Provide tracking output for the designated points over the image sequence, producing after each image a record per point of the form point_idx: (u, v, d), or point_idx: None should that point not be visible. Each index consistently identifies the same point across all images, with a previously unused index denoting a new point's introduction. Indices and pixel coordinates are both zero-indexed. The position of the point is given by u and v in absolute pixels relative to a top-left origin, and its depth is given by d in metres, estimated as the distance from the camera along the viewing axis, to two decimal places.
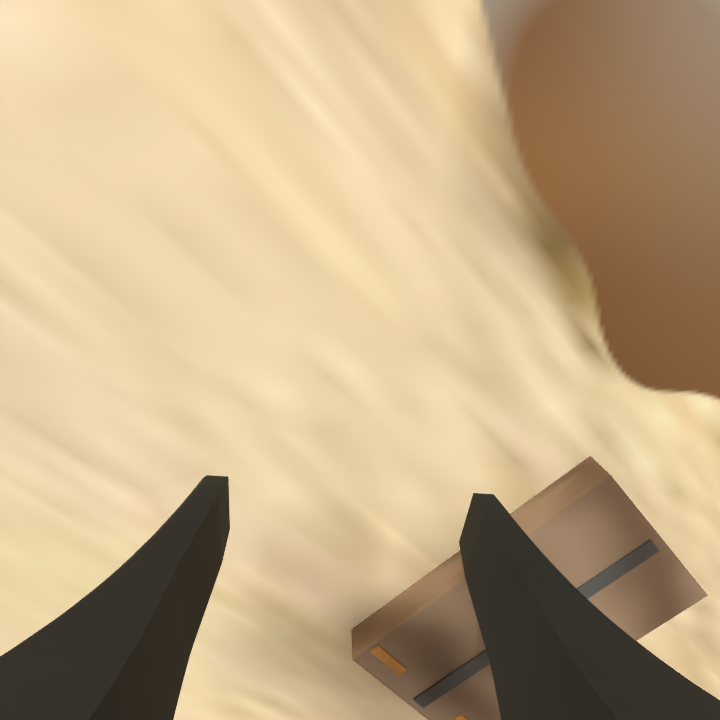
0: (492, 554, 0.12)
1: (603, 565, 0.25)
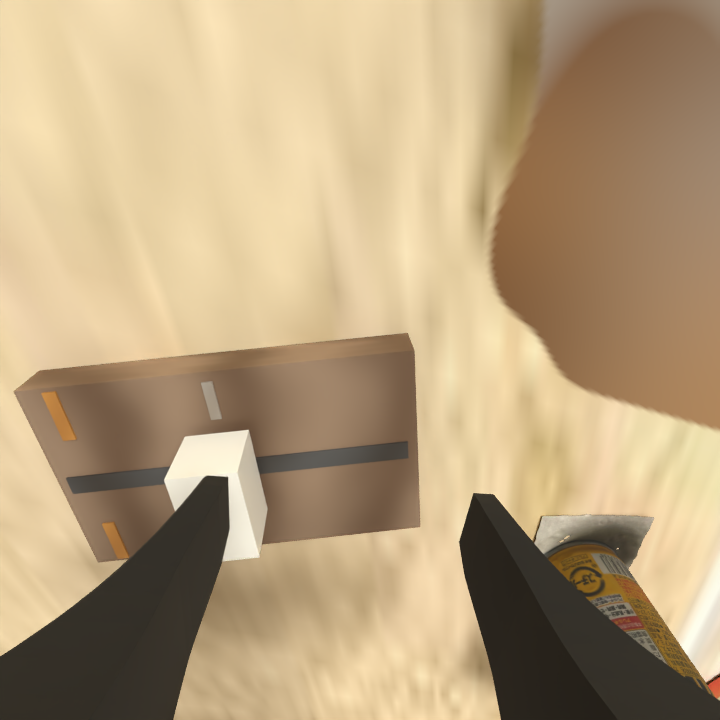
0: (492, 554, 0.12)
1: (349, 442, 0.22)
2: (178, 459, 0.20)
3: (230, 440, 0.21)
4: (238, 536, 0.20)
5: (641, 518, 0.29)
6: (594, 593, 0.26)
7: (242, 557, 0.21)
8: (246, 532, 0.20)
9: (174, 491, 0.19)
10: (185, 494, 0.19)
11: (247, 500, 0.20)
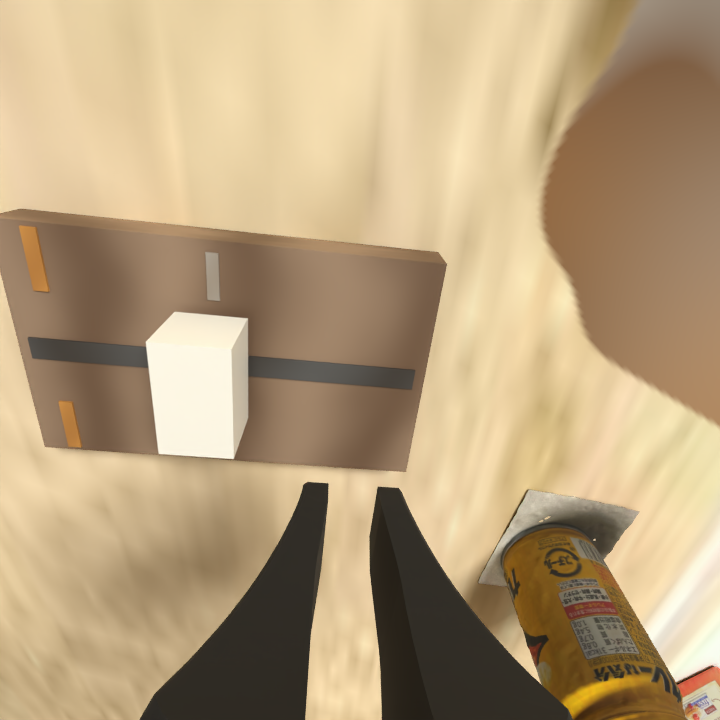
0: (383, 548, 0.11)
1: (353, 358, 0.20)
2: (164, 328, 0.17)
3: (225, 323, 0.18)
4: (215, 429, 0.18)
5: (626, 510, 0.28)
6: (570, 574, 0.25)
7: (215, 455, 0.18)
8: (225, 425, 0.18)
9: (154, 358, 0.16)
10: (166, 364, 0.16)
11: (234, 388, 0.17)
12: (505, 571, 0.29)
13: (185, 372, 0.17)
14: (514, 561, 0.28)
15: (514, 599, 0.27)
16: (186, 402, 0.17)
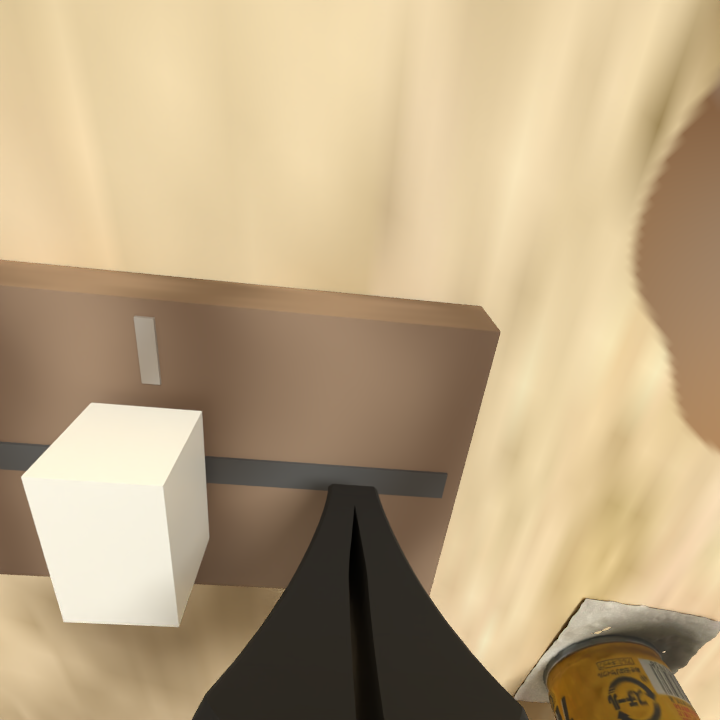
0: (355, 546, 0.11)
1: (358, 459, 0.14)
2: (64, 441, 0.11)
3: (165, 423, 0.12)
4: (148, 590, 0.12)
5: (709, 621, 0.21)
6: None
7: (150, 622, 0.12)
8: (163, 586, 0.11)
9: (38, 500, 0.10)
10: (60, 508, 0.10)
11: (173, 534, 0.11)
12: (551, 694, 0.22)
13: (90, 517, 0.10)
14: (565, 687, 0.21)
15: None
16: (97, 557, 0.11)
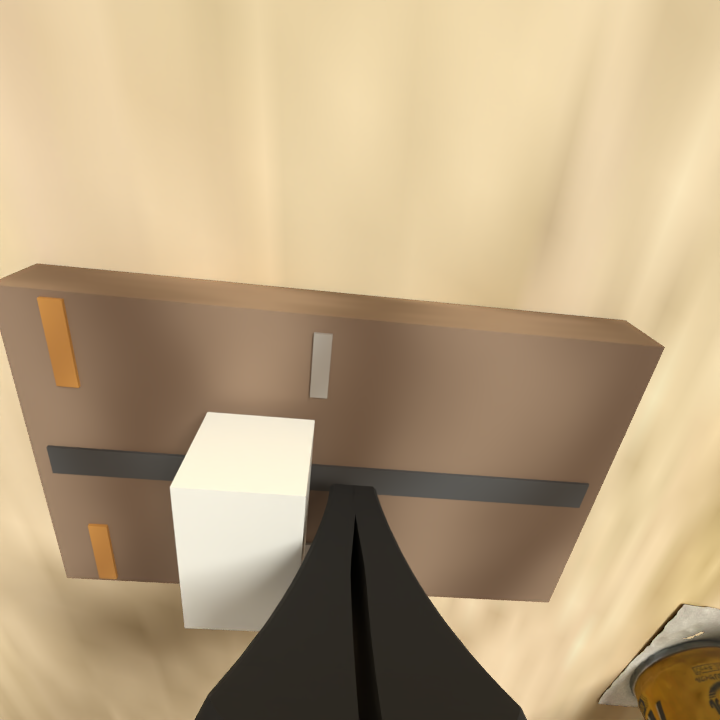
0: (354, 546, 0.11)
1: (504, 470, 0.14)
2: (196, 451, 0.11)
3: (285, 433, 0.12)
4: (272, 597, 0.12)
5: None
6: None
7: None
8: None
9: (182, 509, 0.10)
10: (202, 517, 0.10)
11: None
12: (642, 698, 0.23)
13: (230, 526, 0.11)
14: (660, 691, 0.22)
15: None
16: (229, 565, 0.11)
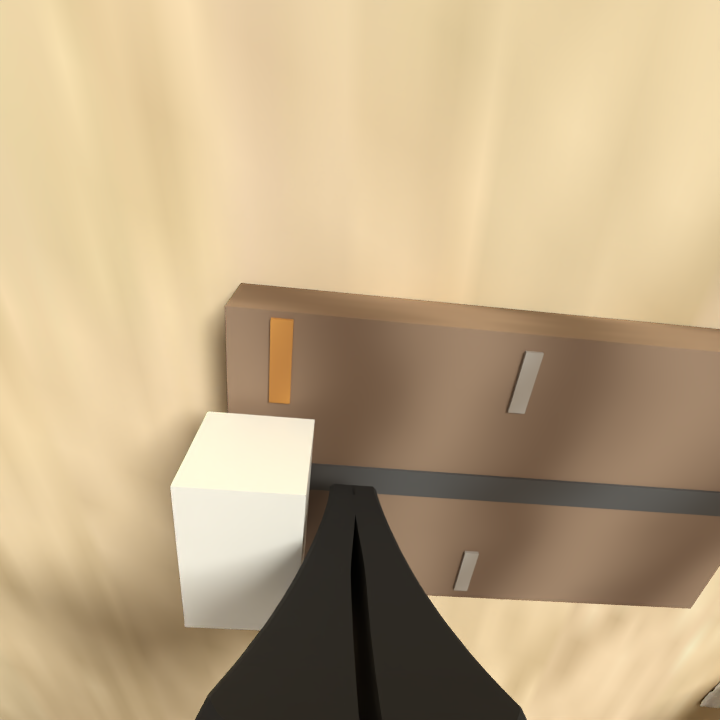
0: (354, 546, 0.11)
1: (676, 481, 0.15)
2: (197, 450, 0.11)
3: (285, 432, 0.12)
4: (272, 596, 0.12)
5: None
6: None
7: None
8: None
9: (182, 509, 0.10)
10: (202, 516, 0.10)
11: None
12: None
13: (230, 525, 0.11)
14: None
15: None
16: (229, 564, 0.11)
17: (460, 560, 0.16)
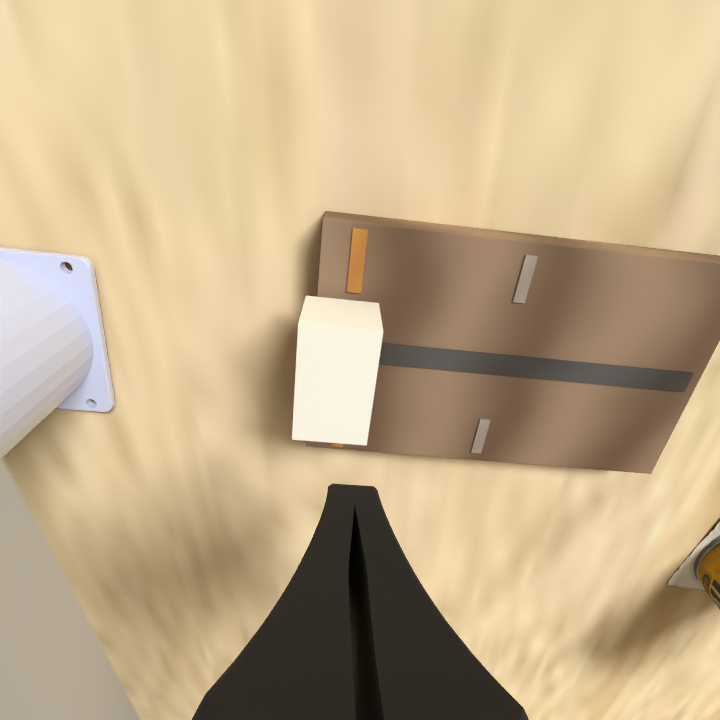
0: (355, 546, 0.11)
1: (635, 361, 0.21)
2: (307, 311, 0.17)
3: (361, 307, 0.18)
4: (353, 414, 0.17)
5: None
6: None
7: (348, 441, 0.18)
8: (364, 411, 0.17)
9: (303, 341, 0.16)
10: (315, 347, 0.16)
11: (376, 372, 0.17)
12: (706, 573, 0.29)
13: (332, 355, 0.16)
14: None
15: None
16: (328, 386, 0.17)
17: (476, 426, 0.22)
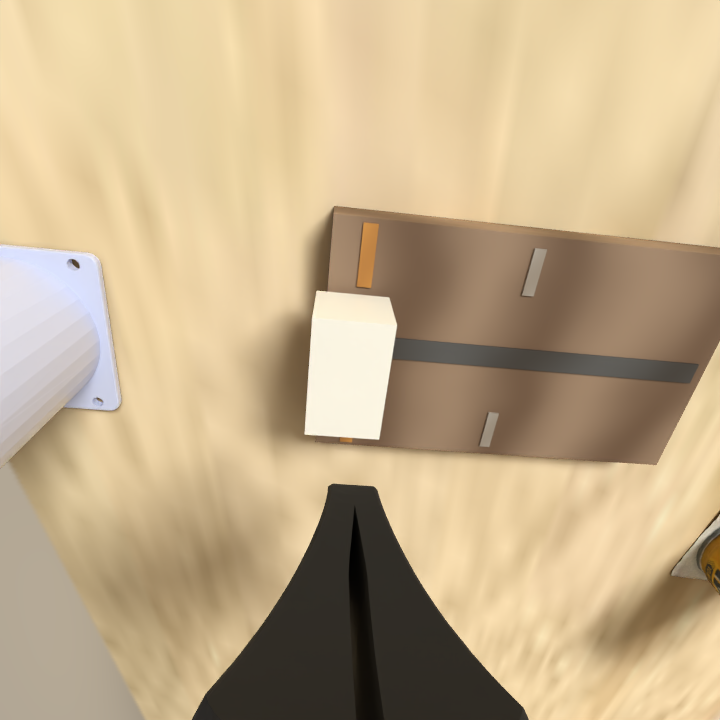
0: (355, 546, 0.11)
1: (641, 353, 0.21)
2: (319, 305, 0.17)
3: (372, 301, 0.18)
4: (366, 408, 0.18)
5: None
6: None
7: (360, 435, 0.18)
8: (377, 405, 0.17)
9: (317, 335, 0.16)
10: (329, 341, 0.16)
11: (389, 366, 0.17)
12: (709, 563, 0.29)
13: (346, 349, 0.16)
14: None
15: None
16: (341, 380, 0.17)
17: (485, 420, 0.22)
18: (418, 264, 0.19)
